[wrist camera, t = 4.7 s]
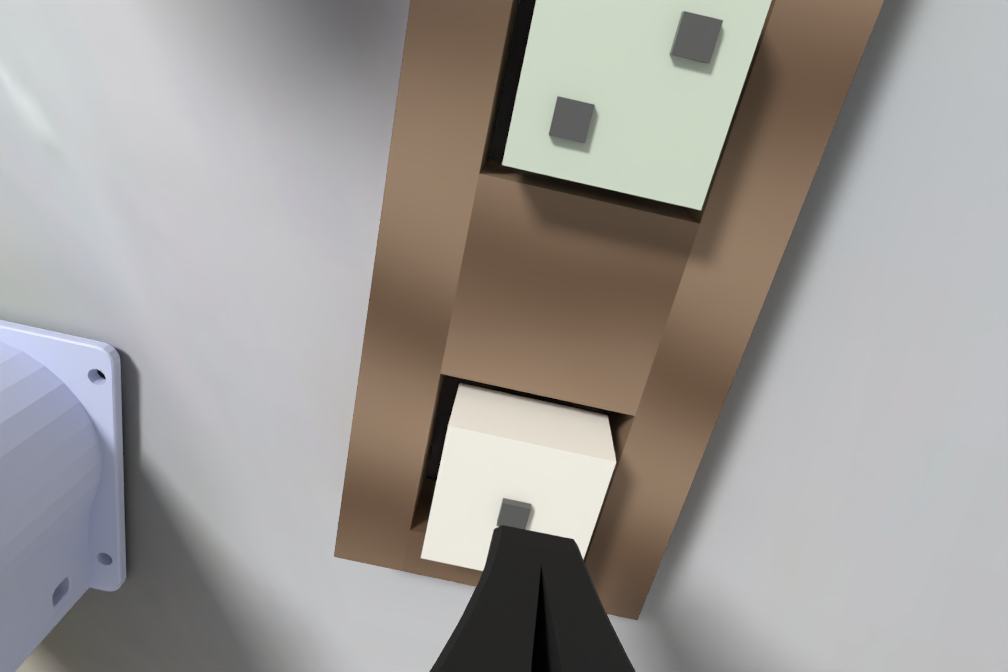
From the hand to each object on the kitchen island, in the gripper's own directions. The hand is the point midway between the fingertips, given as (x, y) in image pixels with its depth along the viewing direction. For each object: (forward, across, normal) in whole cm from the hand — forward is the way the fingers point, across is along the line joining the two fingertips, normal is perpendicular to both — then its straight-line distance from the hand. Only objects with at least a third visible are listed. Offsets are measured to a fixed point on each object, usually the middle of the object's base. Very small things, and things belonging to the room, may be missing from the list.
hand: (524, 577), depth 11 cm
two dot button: (+6, 0, -8) cm, 10 cm away
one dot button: (+7, 0, +2) cm, 7 cm away
